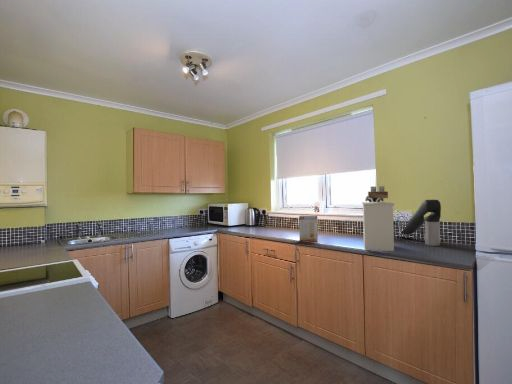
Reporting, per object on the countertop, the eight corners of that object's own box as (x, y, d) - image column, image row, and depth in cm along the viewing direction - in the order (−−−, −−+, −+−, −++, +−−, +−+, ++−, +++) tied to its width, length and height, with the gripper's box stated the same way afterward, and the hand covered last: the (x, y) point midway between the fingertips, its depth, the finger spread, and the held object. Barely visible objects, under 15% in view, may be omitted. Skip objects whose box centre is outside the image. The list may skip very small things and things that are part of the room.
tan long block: (366, 196, 221) (366, 186, 221) (382, 196, 217) (382, 186, 217) (368, 198, 189) (368, 186, 189) (387, 198, 185) (387, 186, 185)
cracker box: (318, 240, 227) (317, 215, 227) (315, 241, 222) (315, 216, 222) (302, 239, 235) (301, 214, 235) (299, 240, 230) (298, 215, 230)
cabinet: (362, 243, 212) (362, 202, 212) (390, 244, 206) (389, 201, 206) (364, 249, 189) (363, 203, 189) (394, 251, 183) (394, 203, 183)
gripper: (383, 208, 223) (385, 198, 209) (364, 207, 228) (365, 198, 214) (383, 199, 227) (384, 189, 213) (364, 199, 231) (365, 189, 217)
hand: (375, 193), depth 213 cm, fingers closed on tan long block, 4 cm apart
